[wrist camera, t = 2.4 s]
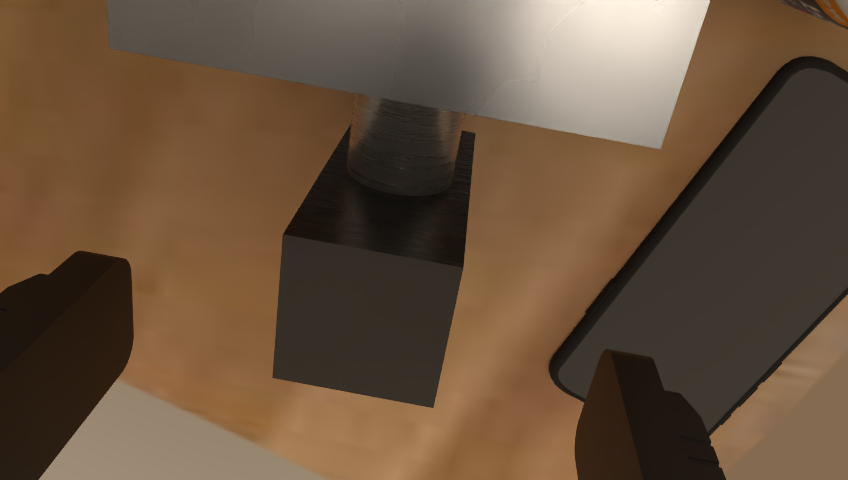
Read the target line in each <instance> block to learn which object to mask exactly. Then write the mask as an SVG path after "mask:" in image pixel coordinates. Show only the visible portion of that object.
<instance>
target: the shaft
mask: <svg viewBox="0 0 848 480" xmlns="http://www.w3.org/2000/svg"><path fill="white" fill-rule="evenodd" d="M464 115H465V113H460V112H455V111H449V110H444V109H438V108H433V107H428V106H422V105H417V104H411V103H406V102H400V101H395V100H389V99H384V98H378V97H373V96H367V95H362V94H356V93H355V98H354V107H353V116H352V123H351V125H350V126H349V128H348V129H347V131H346V133H345V134H344V136H343V138H342V139H341V141H340V142H339V144H338V146H337V147H336V149H335V151H334V152H333V154H332V155H331V157H330V159H329V160H328V162H327V164H326V165H325V167H324V168H323V170H322V172H321V173H320V175H319V177H318V178H317V180H316V181H315V183H314V185H313V186H312V188H311V190H310V191H309V193H308V195H307V196H306V198H305V199H304V201H303V203H302V204H301V206H300V208H299V209H298V211H297V212H296V214H295V216H294V217H293V219H292V221H291V222H290V224H289V225H288V227H287V229H286V230H285V232H284V234H283V242H282V256H281V269H280V283H279V297H278V310H277V324H276V338H275V351H274V365H273V378H276V379H282V380H287V381H292V382H298V383H303V384H308V385H314V386H319V387H324V388H330V389H335V390H340V391H346V392H351V393H356V394H362V395H367V396H372V397H378V398H383V399H388V400H394V401H399V402H404V403H410V404H415V405H420V406H426V407H431V408H433V407H434V402H435V398H436V393H437V388H438V384H439V379H440V374H441V370H442V365H443V360H444V355H445V351H446V346H447V341H448V337H449V332H450V327H451V323H452V318H453V313H454V309H455V304H456V299H457V295H458V290H459V285H460V280H461V276H462V271H463V265H464V253H465V242H466V231H467V219H468V208H469V197H470V186H471V174H472V163H473V152H474V141H475V133H472V132H467V131H462V125H463V120H464Z"/></svg>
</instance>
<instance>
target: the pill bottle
mask: <svg viewBox="0 0 848 480" xmlns="http://www.w3.org/2000/svg"><path fill="white" fill-rule="evenodd" d="M777 1H779V2H781V3H784V4H786V5H789V6H791V7H793V8H796V9H798V10H801V11H803V12H805V13H807V14H810V15H813V16H815V17H817V18H820V19H823V20H825V21H828V22H831V23H833V24H836V25H838V26H841V27H843V28H845V29H848V0H777Z"/></svg>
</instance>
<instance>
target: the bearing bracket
mask: <svg viewBox="0 0 848 480" xmlns="http://www.w3.org/2000/svg"><path fill="white" fill-rule="evenodd" d="M709 2H710V0H107V14H108V34H109V48H111V49H116V50H122V51H127V52H132V53H138V54H143V55H149V56H154V57H160V58H165V59H171V60H176V61H182V62H187V63H193V64H198V65H203V66H209V67H214V68H220V69H225V70H231V71H236V72H242V73H247V74H253V75H258V76H264V77H269V78H275V79H280V80H285V81H291V82H296V83H302V84H307V85H313V86H318V87H324V88H329V89H335V90H340V91H346V92H351V93H356V94H362V95H367V96H373V97H378V98H384V99H389V100H395V101H400V102H406V103H411V104H417V105H422V106H428V107H433V108H438V109H444V110H449V111H455V112H460V113H466V114H471V115H477V116H482V117H488V118H493V119H499V120H504V121H509V122H515V123H520V124H526V125H531V126H537V127H542V128H548V129H553V130H559V131H564V132H570V133H575V134H581V135H586V136H591V137H597V138H602V139H608V140H613V141H619V142H624V143H630V144H635V145H641V146H646V147H652V148H657V149H661V146H662V143H663V140H664V137H665V134H666V131H667V128H668V125H669V122H670V119H671V116H672V113H673V110H674V107H675V104H676V101H677V98H678V95H679V92H680V89H681V86H682V83H683V80H684V77H685V74H686V71H687V68H688V65H689V62H690V59H691V56H692V53H693V50H694V47H695V44H696V41H697V38H698V35H699V32H700V29H701V26H702V23H703V20H704V17H705V14H706V11H707V8H708V5H709Z"/></svg>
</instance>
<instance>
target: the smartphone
mask: <svg viewBox="0 0 848 480" xmlns="http://www.w3.org/2000/svg"><path fill="white" fill-rule="evenodd" d="M847 294H848V72H847V71H845V70H843V69H842V68H840V67H839V66H837V65H835V64H834V63H832V62H831V61H828V60H825V59H823V58H818V57H813V56H809V57H799V58H796V59H793V60H791V61H790V62H788V63H787V64H785V65H784V66H783V67H782V68H781V69H779V70H778V71H777V73H776V74H775V75H774V76H773V78H772V79H771V80H770V81H769V83H768V84H767V85H766V86H765V88H764V89H763V90H762V92H761V93H760V94H759V95H758V97H757V98H756V99H755V100H754V102H753V103H752V104H751V106H750V107H749V108H748V109H747V111H746V112H745V113H744V114H743V116H742V117H741V118H740V119H739V121H738V122H737V123H736V125H735V126H734V127H733V128H732V130H731V131H730V132H729V133H728V135H727V136H726V137H725V139H724V140H723V141H722V142H721V144H720V145H719V146H718V147H717V149H716V150H715V151H714V152H713V154H712V155H711V156H710V158H709V159H708V160H707V161H706V163H705V164H704V165H703V166H702V168H701V169H700V170H699V172H698V173H697V174H696V175H695V177H694V178H693V179H692V180H691V182H690V183H689V184H688V186H687V187H686V188H685V189H684V191H683V192H682V193H681V194H680V196H679V197H678V198H677V199H676V201H675V202H674V203H673V205H672V206H671V207H670V208H669V210H668V211H667V212H666V213H665V215H664V216H663V217H662V219H661V220H660V221H659V222H658V224H657V225H656V226H655V227H654V229H653V230H652V231H651V233H650V234H649V235H648V236H647V238H646V239H645V240H644V241H643V243H642V244H641V245H640V246H639V248H638V249H637V250H636V252H635V253H634V254H633V255H632V257H631V258H630V259H629V260H628V262H627V263H626V264H625V266H624V267H623V268H622V269H621V271H620V272H619V273H618V274H617V276H616V277H615V278H614V279H612V280H611V281H610V282H609V283H608V285H607V286H606V287H605V288H604V290H603V291H602V292H601V294H600V295H599V296H598V297H597V299H596V300H595V301H594V303H593V304H592V305H591V306H590V308H589V309H588V310H587V311H586V315H585V317H584V318H583V319H582V321H581V322H580V323H579V324H578V326H577V327H576V328H575V330H574V331H573V332H572V333H571V335H570V336H569V337H568V339H567V340H566V341H565V343H564V344H563V345H562V346H561V348H560V349H559V350H558V352H557V353H556V354H555V355H554V357H553V359H552V361H551V364H550V369H549V372H550V376H551V379H552V380H553V382H554V383H555V385H556V386H557V387H559V388H560V389H561V390H562V391H564V392H565V393H567V394H569V395H571V396H573V397H575V398H577V399H579V400H580V401H582V402H584V403H585V400H586V397H587V394H588V391H589V388H590V385H591V382H592V379H593V376H594V373H595V370H596V367H597V364H598V361H599V359H600V356H601V354H602V353H603V351H604V350H605V349H611V350H616V351H622V352H627V353H633V354H638V355H643V356H649V357H651V358H653V360H654V362H655V365H656V368H657V370H658V373H659V376H660V379H661V382H662V385H663V388H664V390H666V391H672V392H677V393H680V394H681V395H682V396H683V397H684V398H685V399H686V400H687V401H688V403H689V404H690V405H691V406H692V407H693V408H694V409H695V410H696V412H697V413H698V414H699V415H700V416H701V418H702V420H703V423H704V425H705V428H706V430H707V433H708V435H709V436H710V435H711V434H712V433H713V432H714V431H715V430H716V429H717V428H718V427H719V426H720V425H723V423H724V422H725V421H726V420H727V419H728V418H729V417H730V416H731V414H732V413H733V412H734V411H735V409H736V408H737V407H738V406H739V407H740V406H741V405H742V404H743V403H744V402H745V401H746V400H747V399H748V398H749V397H750V396H751V395H752V394H753V393H754V392H755V391H756V390H757V389H758V388H757V387H758V386H759V385H760V384H761V383H762V382H764V381H765V380H766V379H767V378H768V377H769V376H770V375H771V374H772V373H773V372H774V371H775V370H776V369H777V368H778V367H779V366H780V365H781V364H782V361H783V360H784V359H785V358H786V357H787V356H788V355H789V354H790V353H791V352H792V351H793V350H794V349H795V348H796V347H797V346H798V345H799V344H800V343H801V342H802V341H803V340H804V339H805V338H806V337H807V336H808V334H809V333H810V332H811V331H812V330H813V329H814V328H815V327H816V326H817V325H818V324H819V323H820V322H821V321H822V320H823V319H824V318H825V317H826V316H827V315H828V314H829V313H830V312H831V311H832V310H833V309H834V308H835V307H836V306H837V305H838V304H839V303H840V302H841V301H842V299H843V298H844V297H845V296H846V295H847Z"/></svg>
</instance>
